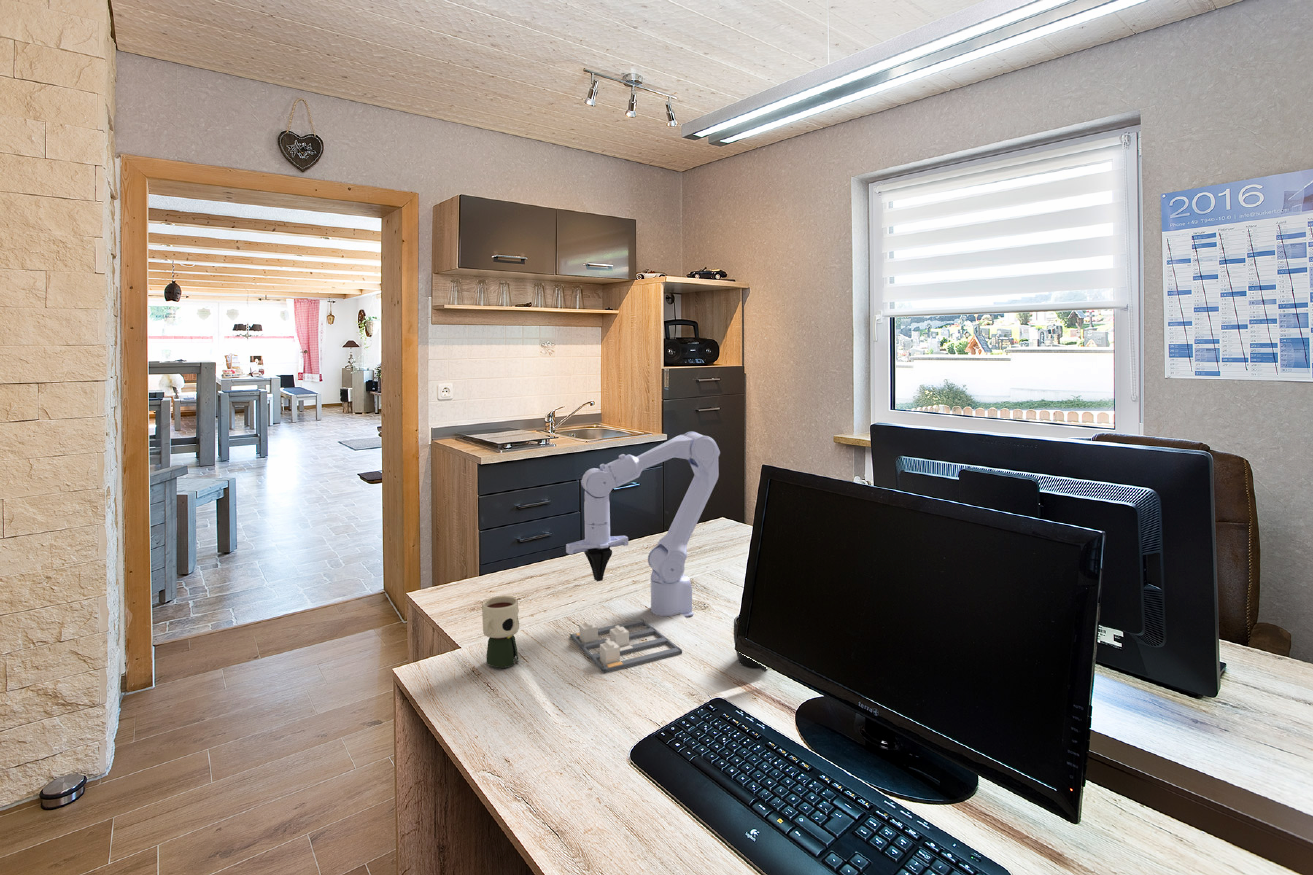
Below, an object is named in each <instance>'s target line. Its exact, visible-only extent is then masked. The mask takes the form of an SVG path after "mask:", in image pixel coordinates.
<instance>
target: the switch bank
mask: <svg viewBox="0 0 1313 875" xmlns="http://www.w3.org/2000/svg"><path fill="white" fill-rule="evenodd" d="M617 625H619V626H620V627H624V628H625V629H626V630H627V629H631V628H632V629H633V628H635V627H636V628H637V627H641V626H644V627H645V629H641V630H637V631H636V630H635V631H631V632H629V641H631V640H636V639H641V638H645V637H649V636H652V635H655V636H657V637H658V638H655V639H650V640H648V641H642V642H638V643H634V644H629V646H625V647H621V648H620V656H623V655H627V654H631V653H635V652H639V651H640V652H641V651H643V650H648V649H651V648H656V647H660V646H664V645H668V646H669V647H671V648H668V649H665V650H661V651H657V652H652V653H649V654H644V655H641V656H637V657H633V658H628V659H624V660H620V662H616V663H612V664H608V665H603V664H602V662H601V661H600V652H597V653H591V651H590V650H592V649H597V648H600V644H603V643H605V641H606V640H609V641H610V637H606V638H605V637H604V638H601V639H598V640H596V641H592V642H587V643H582V642H581V641H580V634H579V632H577V633H571V634H570V635H569V638H570V639H571V640H572V641H573V642H574V644H575V645H576V646H577V647H579V649H580V650H581V651H582V652H583V653H584V654H585V655H586V657H587V658H589V659H590V660H591V662H593V663H594V664H595V666H596V667H597V668H598V669H599V670H600V671H601V672H602V673H603V674H607V673H612V672H614V671H619V670H623V669H627V668H630V667H635V666H638V665H642V664H646V663H649V662H654V661H658V660H662V659H666V658H669V657H674V656H678V655H681V654H683V650H682V649H681V648H680V646H677V644H675V643H674V642H672V641H671V639H668V638H667V636H665V635H664V634H662V633H661V632H660V631H658V630H657V629H656V628H655V627H654V626H652V625H651V624H650V623H648V622H647V621H646V620H644V619H643V618H640V619H636V620H632V621H627V622H622V623H617V624H613V625H608V626H604V627H600V628H599V627H598V636H601V635H604V634H610V629H614V628H615V626H617Z"/></svg>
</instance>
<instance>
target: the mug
mask: <svg viewBox="0 0 1313 875" xmlns="http://www.w3.org/2000/svg"><path fill="white" fill-rule="evenodd" d="M738 619H739V615H736V617H735V618H734V619H733V640H734V642H733V643H734V647H735V652H736V655H737V659H738V662H739V664H740V665H741V666H743V667H745V668H749V669H753V670H754V669H760V670H762V671H763V672H767V670H768V669H766V667H764V666H762V665H761V664H758V663H757V662H755V661H753V660H752V659H750V658H747V657H746V656H744V655H742V654H741V653H739V652H738V651H737V650H736V642H737V621H738Z"/></svg>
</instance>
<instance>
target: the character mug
mask: <svg viewBox="0 0 1313 875" xmlns="http://www.w3.org/2000/svg"><path fill="white" fill-rule="evenodd" d="M481 611H482V613H481V614H482V615H481V616H482V617H481V618H482V632H483V635H484V637H488V640H487V648H486V649H487V650H486V661H485V662H486V664H487V665H489V666H491V667H495V668H498V669H503V668H509V667H511V666H513V665H515V660H516V663H517V662H519V653H518V646H517V641H516V637H515V635H516V634H517V633H518V632H519V629H520V621H519V620H520V619H519V611H520V610H519V600H518V599H517V598H516V597H514V596H510V595H498V596H497V595H495V596H492V597H488V598H486V599H485V600H483V601H482V604H481Z"/></svg>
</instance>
